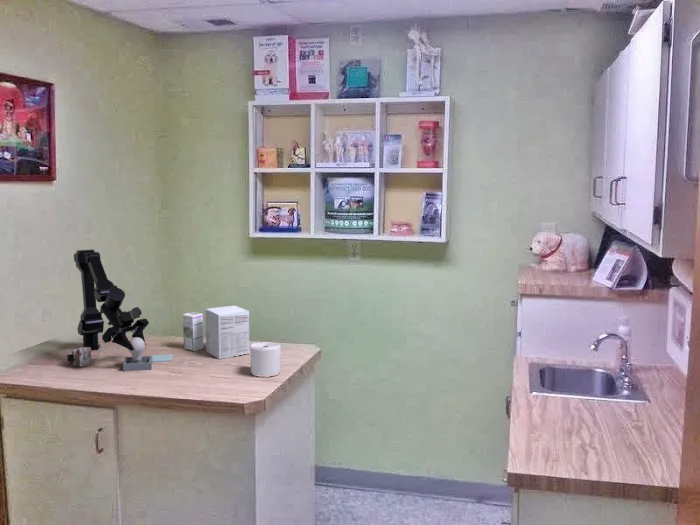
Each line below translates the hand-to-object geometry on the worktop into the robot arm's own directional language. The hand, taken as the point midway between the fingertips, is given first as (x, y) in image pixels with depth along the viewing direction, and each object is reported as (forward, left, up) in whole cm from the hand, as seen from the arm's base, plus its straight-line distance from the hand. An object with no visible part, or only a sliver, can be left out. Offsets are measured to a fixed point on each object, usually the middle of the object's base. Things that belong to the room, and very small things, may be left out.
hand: (139, 348), depth 245 cm
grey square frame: (-2, -1, -7) cm, 8 cm away
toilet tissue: (+15, +43, -8) cm, 47 cm away
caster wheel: (-9, -22, -8) cm, 25 cm away
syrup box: (-23, +19, -8) cm, 31 cm away
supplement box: (-14, +32, -8) cm, 36 cm away
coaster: (-11, +7, -7) cm, 15 cm away
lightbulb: (-2, -1, -7) cm, 8 cm away
